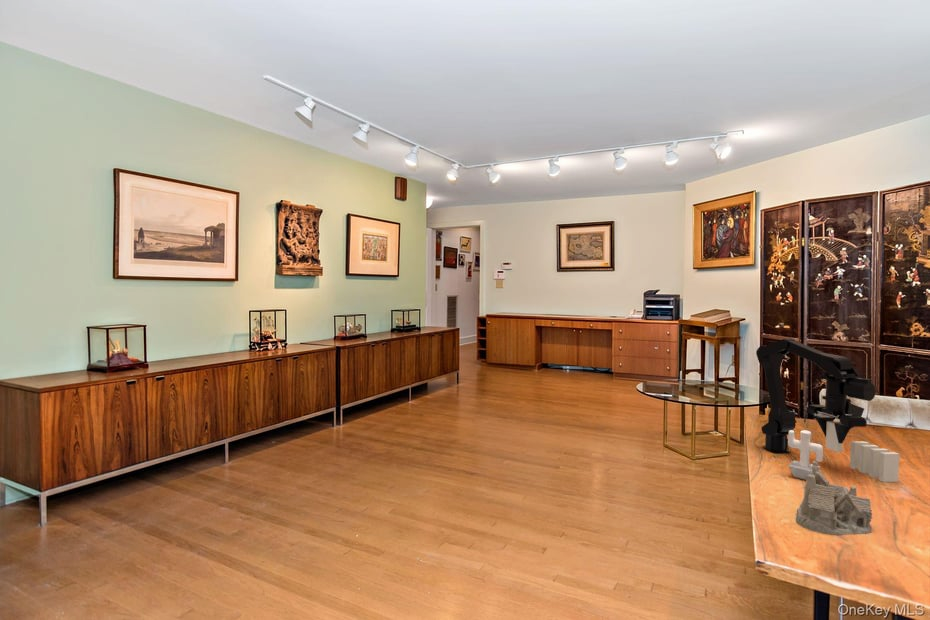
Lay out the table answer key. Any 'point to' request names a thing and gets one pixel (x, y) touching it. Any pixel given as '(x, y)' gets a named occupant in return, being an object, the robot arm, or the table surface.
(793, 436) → the figurine
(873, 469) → the domino
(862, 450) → the domino
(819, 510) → the ceramic cottage
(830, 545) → the table surface
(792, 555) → the table surface
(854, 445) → the domino
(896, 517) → the table surface
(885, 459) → the domino
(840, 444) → the domino
